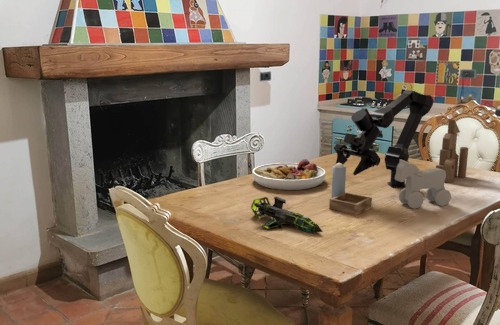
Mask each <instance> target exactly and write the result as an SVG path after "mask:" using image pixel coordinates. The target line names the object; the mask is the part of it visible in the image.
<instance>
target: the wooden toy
mask: <svg viewBox="0 0 500 325" xmlns="http://www.w3.org/2000/svg"><path fill="white" fill-rule="evenodd" d="M447 123H448V126H447V133H444V135H443V137H442V144H441V149H440V150H439V160H438V164H437V165H435V168H439V169H442V170H444V171H445V172H446V178H445V182H444V183H448V184H451V183H454V181H455V180H454V178H455V177H459V178H466V177H467V168H468V167H467V166H468V158H469V157H468V156H469V147H467V146H461V147H459V154H458V153H457V141H458V140H457V139H458V134H459V133H460V132H461V131H460V129H459V126H458V125H457V122H456V119H450V118H449V119H448V122H447Z"/></svg>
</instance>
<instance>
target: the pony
mask: <svg viewBox="0 0 500 325" xmlns="http://www.w3.org/2000/svg"><path fill="white" fill-rule="evenodd" d="M445 178H446V172H445V171H444V170H442V169H439V168H436V167H432V168H428V169H424V170H420V169H419V168H418V166H417V165H416V164H414V163H412V162H411V161H408V162H406V161H404V160H401V159H399V164H398V165H397V168H396V175H395V180H397V181H399V182H404V181H405V184H406V187H403V188H402V189H401V191H399V193H398V200H399V202H400V203H401V204H403V205H408V207H409V208H410V209H413V210H414V209H415V210H417V209H419V208H420V207H421V206H422V205H423V204H424V201H425V200H424V195H423V194H422V192H420V190H423V189H424V190H426V192H425V196H426V197H425V198H426V199H427V200H428V201H430V202H431V201H432V202H435V203H436V205H437V206H440V207H445V206H446V205H448V204H449V203H450V201H451V199H452V196H451V195H452V194H451V192H450V190H447V189H446V187H445V183H446V182H445ZM416 208H417V209H416Z"/></svg>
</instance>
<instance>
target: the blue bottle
mask: <svg viewBox="0 0 500 325" xmlns="http://www.w3.org/2000/svg"><path fill="white" fill-rule="evenodd" d="M335 164H336V163H335ZM331 171H332V172H331V198H333V197H336V196H338V195H340V194H343V193H346V177H347V176H346V175H347V166H345V165H344V164H341V163H337V164H336V165H332V170H331ZM331 198H330V199H331Z"/></svg>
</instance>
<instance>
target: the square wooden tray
mask: <svg viewBox="0 0 500 325" xmlns="http://www.w3.org/2000/svg"><path fill="white" fill-rule="evenodd" d="M372 202H373V199H372V197H371V196H364V195H359V194H354V193H350V192H349V193H348V192H345V193H343V194H340V195H338V196H336V197H333V198H329V204H328V206H329V207H328V209H329V210H332V211H338V212H342V213H347V214H351V215H355V216H358V215H359V214H362V213H364V212H365V211H368V210H369V209H371V208H372V204H373V203H372Z"/></svg>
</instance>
